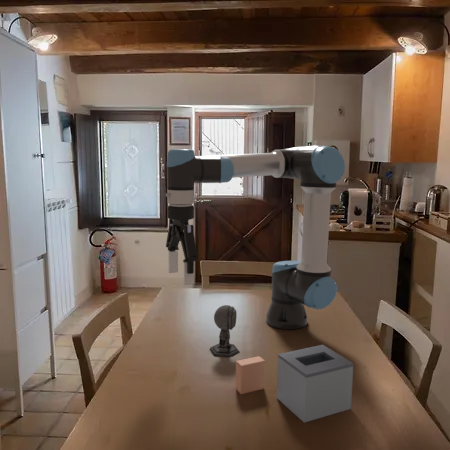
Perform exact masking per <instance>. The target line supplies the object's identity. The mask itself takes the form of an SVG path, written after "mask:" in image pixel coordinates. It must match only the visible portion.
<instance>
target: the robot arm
mask: <svg viewBox="0 0 450 450" xmlns="http://www.w3.org/2000/svg"><path fill="white" fill-rule="evenodd" d="M166 160H167V161H166V178H167V179H166V180H167V192H166V193H165V197H167V198H166V199H167V204H168V205H167V206H166V207H167V215H166V216H167V219H168V230H167V235H166V243H165V247H166V248H167V251H168V273H169V274H174V273H179V251H180V249H179V248H180V247H179V244H181V247H182V248H181V249H182V252H183V256H184V259H183V261H182V262H183V285H184V286H191V285H195V261H198V260H199V257H198V250H197V245H196V239H195V231H194V228H195V227H194V224H189V221H190V220H193V219H194V218H195V206H194V204H195V184H223V183H229V182H230V181H231V180H232V179H233V178H248V177H259V176H260V177H265V176H272V177H273V178H276V179H278V178H280V179H281V178H283V179H284V178H285V179H293V180H298V181H300V185H299V186H300V188H301V189H302V191H303V193H304V195H303V197H304V199H303V215H302V216H303V217H302V236H301V237H302V238H301V255H300V256H301V257H300V260H282V261H277V262H275V263H273V265H272V270H271V302H270V304H269V307H268V310H267V313H266V316H265V317H266V318H265V319H266V324H267V325H268V326H271V327H273V328H277V329H280V330H281V329H282V330H299V329H302V328H304V327H306V326H307V325H308V315H307V312H306V309H305V306H306V307H308V308H310V309H311V308H312V309H314V310H323V309H325V308H327V307H329V306H330V305H331V303H333V302H334V300H335V299H336V296H337V293H338V285H337V282H336V280H334V279H333V278H332V276H331V275H332V267H330V266H329V264H328V263H327V262H328V248H329V235H330V234H329V232H330V217H331V216H330V215H331V198H332V192H333V191H334V190H336V189H337V183H338V182H339V181H340V180H341V179H342V177H343V176H344V175H345V170H346V163H345V160H344V156H343V155H342V154H341V152H340V151H339V150H338V149H337V148H336V147H334V146H327V145H300V146H295V147H290V148H283V149H274V150H272V151H271V152H264V153H263V152H262V153H239V154H238V153H235V154H234V153H233V154H214V155H213V154H211V155H209V154H208V155H196V154H195V151H194V149H178V148H177V149H175V148H173V149H169V150H168V151H167V157H166Z"/></svg>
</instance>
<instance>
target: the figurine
mask: <svg viewBox="0 0 450 450" xmlns="http://www.w3.org/2000/svg"><path fill="white" fill-rule="evenodd" d="M213 315H214V316H213V319H214V320H213V321H214V324H215V325H216V327H218V329H220V332H219V336H218V339H219V343H217V344H214V345H212V346H211V347H210V348H209V351H210V353H211V354H212V356H213V357H220V358H231V357H234V356H235V355H237V354H240V350H239V348H238V347H236V345H235V344H233V343H230V339H231V334H230V331H231V330H233V329H234V328H235V327H236V324H237V318H238V317H237V310H236V309H235V307H234V306H231V305H228V304H227V305H226V304H224V305H221V306H219V307H218V308H217V309H216V310H215V312H214V314H213Z"/></svg>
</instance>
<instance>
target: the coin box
mask: <svg viewBox="0 0 450 450" xmlns="http://www.w3.org/2000/svg"><path fill="white" fill-rule="evenodd" d="M276 375H277V378H276V381H277V383H276V384H277V385H276V399H277V400H278V401H280V403H282V404H283V405H284V406H285V407H286V408H287V409H288V410H290V412H291V413H293V414H294V415H295V416H296V417H297V418H298V419H299V420H300V421H302V422H303V423H307V422H312V421H315V420H318V419H322V418H325V417H327V416H332V415H334V414H338V413H341V412H345V411H347V410H348V411H349V410H351V409H352V393H353V378H354V377H353V376H354V362H352V361H350V360H349V359H347V358H346V357H344V356H342V355H341V354H339V353H337V352H335V351H334V350H332V349H331V348H329V347H328V346H326V345H324V344H319V345H316V346H311V347H310V346H309V347H305V348H300V349H297V350H292V351H291V350H290V351H287V352H282V353H278V354H277V374H276Z"/></svg>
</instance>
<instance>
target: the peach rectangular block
mask: <svg viewBox="0 0 450 450" xmlns="http://www.w3.org/2000/svg"><path fill="white" fill-rule="evenodd" d="M235 361H236V362H235V390H236V391H237V392H238V393H239V394H240V395H244V394H248V393H253V392H256V391H260V390H264V389H265V375H266V374H265V373H266V372H265V370H266V369H265V367H266V360H265V359H264V358H263V357H261V356H258V355H257V356H253V357H248V358H244V359H239V360H235Z"/></svg>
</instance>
